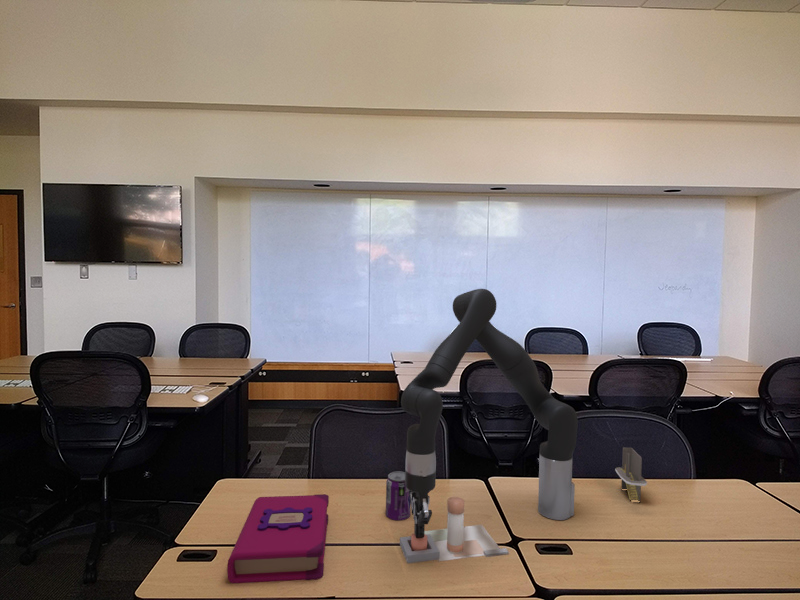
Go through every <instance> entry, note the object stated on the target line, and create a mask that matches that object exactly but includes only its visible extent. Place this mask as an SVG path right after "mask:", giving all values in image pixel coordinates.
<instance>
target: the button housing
mask: <svg viewBox="0 0 800 600" xmlns="http://www.w3.org/2000/svg"><path fill="white" fill-rule="evenodd" d="M426 535H427V550H420V551H412V550H411V536H412V535H410V536H409V535H408V536H401V537H399V546H400V548H401V551H402V553H403V556H404V559H405V560H406V564H414V563H420V562H428V561H436V560H437V559H439V556H440V552H439V550H438V548H437V546H436V544H435V542H434V541H433V539H432V537H431V535H430V534H426ZM437 561H438V560H437Z"/></svg>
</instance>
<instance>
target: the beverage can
mask: <svg viewBox="0 0 800 600" xmlns="http://www.w3.org/2000/svg"><path fill="white" fill-rule="evenodd" d="M385 484H386V486H385V490H386V491H385V516H386V517H387V518H388V519H390V520H391V521H392V520H393V521H404V520H407V519H409V518H410V517H411V503H410V495H409V489H407V488H406V486H405V471H392V472H390V473H389V474H387V479H386V481H385Z"/></svg>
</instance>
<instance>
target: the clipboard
mask: <svg viewBox="0 0 800 600" xmlns="http://www.w3.org/2000/svg"><path fill="white" fill-rule="evenodd" d="M424 534H425V535H426V534H430V535H431V537H432V539H433V541H434V542H435V544H436V546H437V548H438V550H439V552H440V556H439V559H437V562H444V561H453V560H461V559H467V558H475V557H483V556H485V558H490V557H498V556H505V555H509V554H510V551H508V549H507V547H502V548H501V547H500V546H499V545H498V544H497V542H496V541H495V539H493V537H492V536H491V535H490V533H489V532H488V531H487V529H486V528H485V526H483V524H476V525H467V526H463V552H462V553H460V554H452V553H450V552H448V550H447V528H442V529H441V528H440V529H431V530H430V529H429V530H425V531H424Z"/></svg>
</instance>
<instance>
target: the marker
mask: <svg viewBox="0 0 800 600" xmlns="http://www.w3.org/2000/svg"><path fill="white" fill-rule="evenodd" d="M446 506H447V507H446V508H447V525H446V527H447V528H446V529H447V550H448V552H450V553H452V554H460V553H462V552H463V527H465V526H464V521H465V520H464V518H465V517H464V515H465V500H464V498H461V497H458V496H451V497H449V498H448V499H447V505H446Z"/></svg>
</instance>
